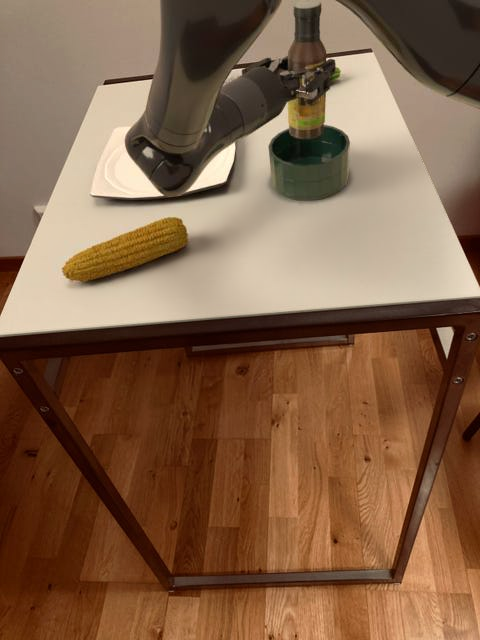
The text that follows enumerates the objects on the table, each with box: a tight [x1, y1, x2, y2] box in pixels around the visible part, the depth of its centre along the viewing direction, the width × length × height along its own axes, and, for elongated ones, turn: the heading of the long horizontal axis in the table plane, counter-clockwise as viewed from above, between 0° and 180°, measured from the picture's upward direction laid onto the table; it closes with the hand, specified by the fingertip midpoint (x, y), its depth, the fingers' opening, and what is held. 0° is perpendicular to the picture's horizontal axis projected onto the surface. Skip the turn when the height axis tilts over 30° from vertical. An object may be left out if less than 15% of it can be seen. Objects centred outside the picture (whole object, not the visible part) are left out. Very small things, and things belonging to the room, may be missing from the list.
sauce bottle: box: [287, 0, 327, 139], centre depth 81 cm, size 6×6×20 cm
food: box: [61, 216, 190, 282], centre depth 82 cm, size 21×6×6 cm, turn 113°
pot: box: [268, 124, 351, 202], centre depth 92 cm, size 14×14×7 cm
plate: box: [89, 125, 237, 201], centre depth 104 cm, size 29×29×3 cm
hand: (315, 61), depth 81 cm, fingers closed on sauce bottle, 6 cm apart
